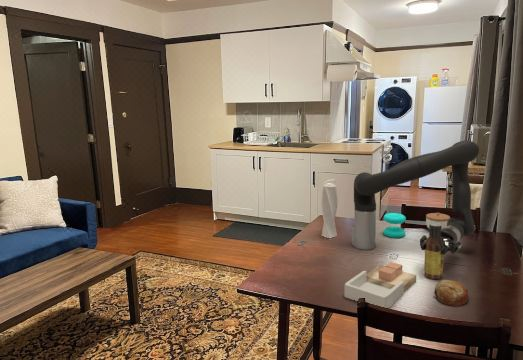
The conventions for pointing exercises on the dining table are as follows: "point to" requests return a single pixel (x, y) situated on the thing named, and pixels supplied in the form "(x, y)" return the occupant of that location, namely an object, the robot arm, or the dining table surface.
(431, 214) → the lidded jar
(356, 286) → the box
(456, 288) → the bread roll
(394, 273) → the tile
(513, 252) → the dining table surface
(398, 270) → the tan block
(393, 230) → the teal rounded shape
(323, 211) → the skyscraper
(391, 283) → the board
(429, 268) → the sauce bottle
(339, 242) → the dining table surface
